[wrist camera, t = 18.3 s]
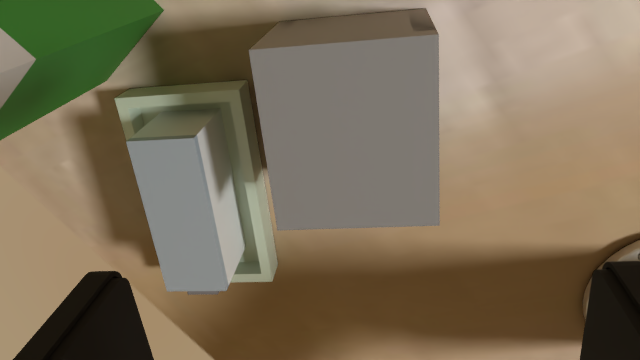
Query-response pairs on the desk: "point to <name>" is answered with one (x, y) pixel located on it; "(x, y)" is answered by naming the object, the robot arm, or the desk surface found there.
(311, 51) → the grey rectangular box
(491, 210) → the desk surface
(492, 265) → the desk surface
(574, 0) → the desk surface
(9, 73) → the hardback book
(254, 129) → the tray
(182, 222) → the pale grey block
